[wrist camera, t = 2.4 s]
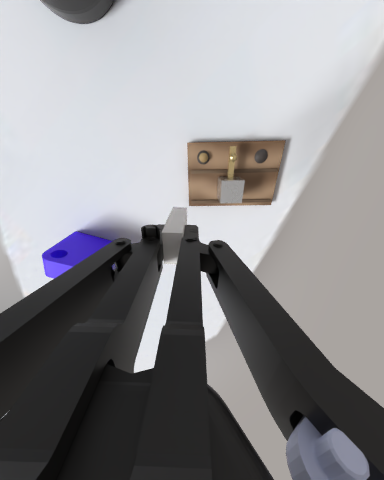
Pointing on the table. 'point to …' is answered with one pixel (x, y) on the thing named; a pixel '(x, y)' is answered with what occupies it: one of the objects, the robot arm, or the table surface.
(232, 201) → the slider with brass pointer
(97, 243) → the bracket
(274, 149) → the wooden knob panel
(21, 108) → the table surface
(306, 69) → the table surface
